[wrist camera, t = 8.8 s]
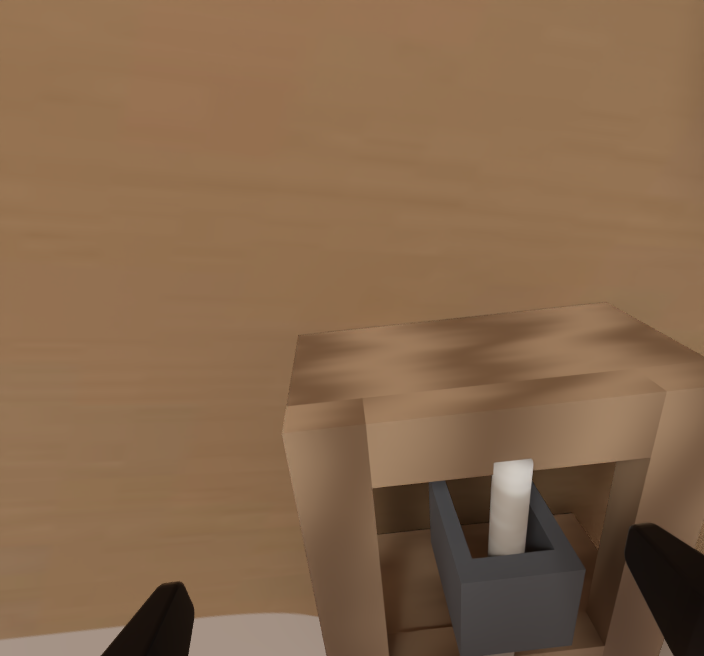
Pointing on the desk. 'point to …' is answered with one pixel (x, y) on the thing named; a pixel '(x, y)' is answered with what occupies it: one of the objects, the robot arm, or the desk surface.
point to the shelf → (488, 461)
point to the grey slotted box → (507, 583)
